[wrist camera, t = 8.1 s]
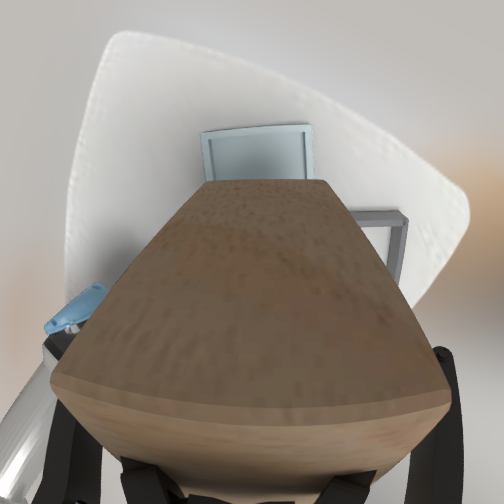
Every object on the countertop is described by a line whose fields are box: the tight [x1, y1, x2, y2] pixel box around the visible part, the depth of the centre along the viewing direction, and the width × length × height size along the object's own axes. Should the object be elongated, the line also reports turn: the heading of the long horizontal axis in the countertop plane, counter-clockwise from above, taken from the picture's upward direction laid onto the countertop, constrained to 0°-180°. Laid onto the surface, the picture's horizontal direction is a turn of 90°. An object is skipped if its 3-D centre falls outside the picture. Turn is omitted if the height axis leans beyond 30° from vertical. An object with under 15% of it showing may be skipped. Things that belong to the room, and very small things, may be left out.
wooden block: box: [50, 179, 452, 504], centre depth 16 cm, size 10×10×20 cm
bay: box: [349, 211, 409, 286], centre depth 43 cm, size 14×15×4 cm
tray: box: [200, 124, 314, 182], centre depth 39 cm, size 15×15×2 cm
